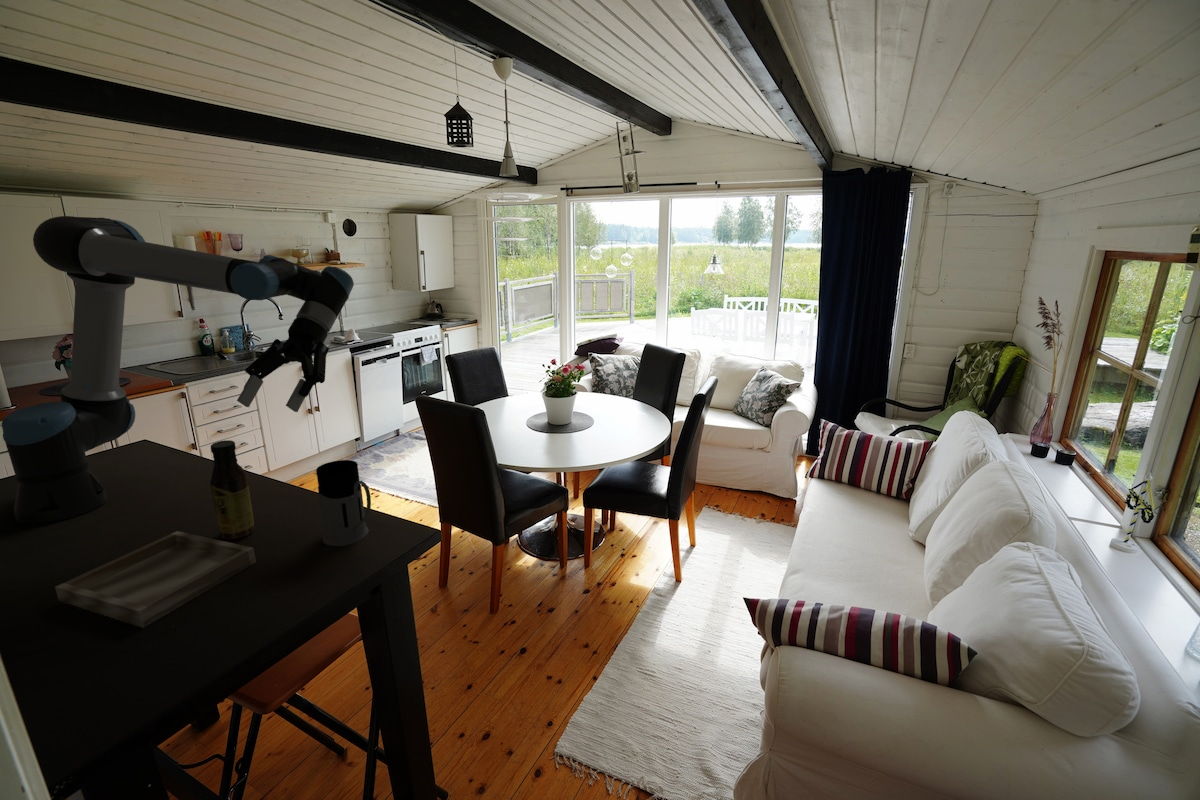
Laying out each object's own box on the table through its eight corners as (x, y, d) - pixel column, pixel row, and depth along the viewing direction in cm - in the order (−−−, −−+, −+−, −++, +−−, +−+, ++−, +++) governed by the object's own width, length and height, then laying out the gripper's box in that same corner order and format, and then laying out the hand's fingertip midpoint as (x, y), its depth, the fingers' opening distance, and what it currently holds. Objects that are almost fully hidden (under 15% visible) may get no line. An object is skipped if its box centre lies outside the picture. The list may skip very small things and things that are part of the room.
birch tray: (59, 602, 94) (54, 586, 93) (180, 544, 112) (177, 531, 111) (143, 627, 88) (139, 611, 87) (256, 562, 106) (253, 547, 105)
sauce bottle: (216, 534, 116) (198, 442, 111) (250, 523, 121) (234, 435, 116) (225, 545, 112) (207, 450, 107) (260, 533, 116) (244, 442, 111)
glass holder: (352, 521, 122) (344, 455, 118) (394, 539, 114) (386, 470, 110) (313, 538, 115) (303, 469, 111) (354, 559, 107) (345, 485, 103)
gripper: (365, 337, 129) (324, 419, 119) (281, 333, 137) (236, 410, 127) (345, 317, 122) (300, 401, 113) (258, 314, 130) (209, 393, 121)
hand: (266, 406), depth 120 cm, fingers open, 13 cm apart
